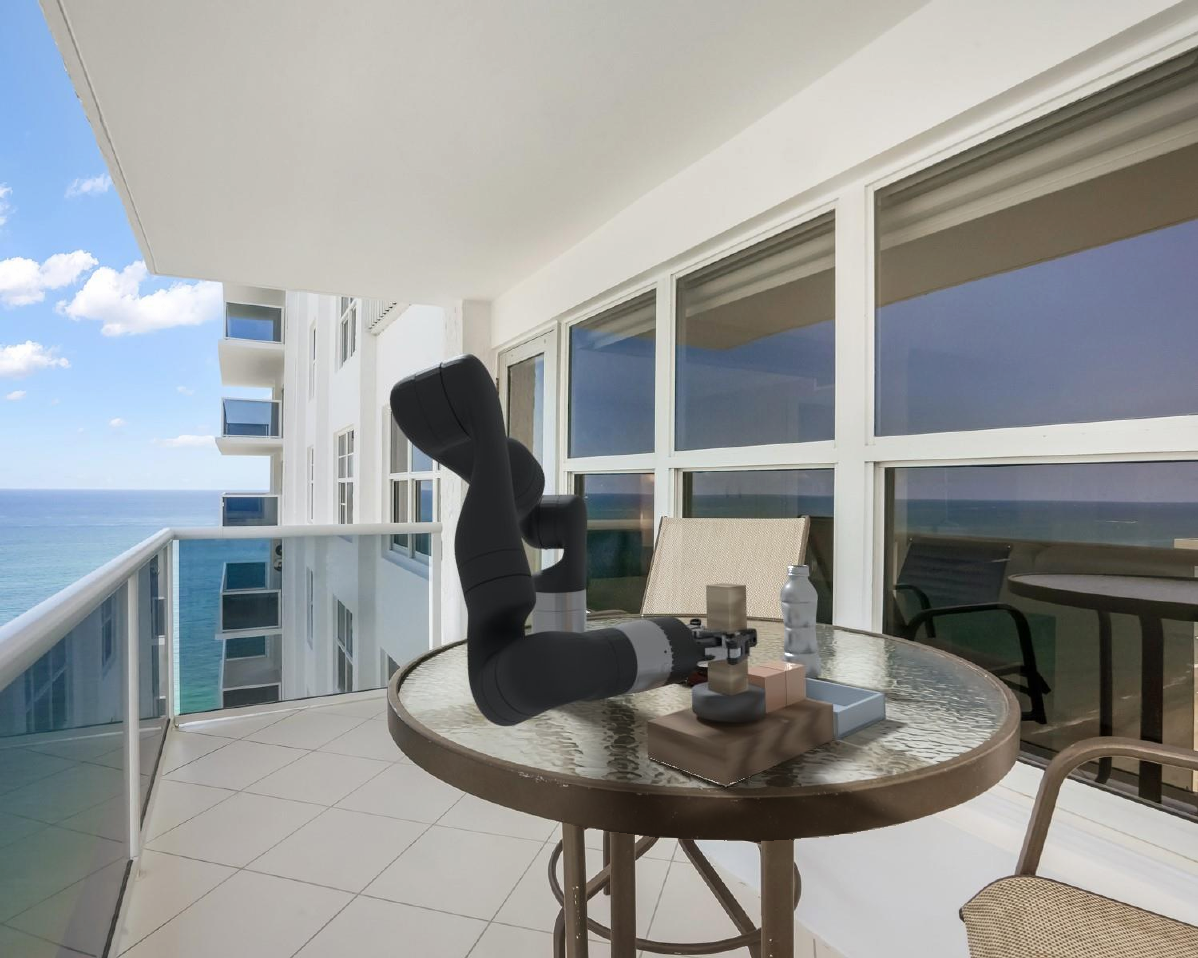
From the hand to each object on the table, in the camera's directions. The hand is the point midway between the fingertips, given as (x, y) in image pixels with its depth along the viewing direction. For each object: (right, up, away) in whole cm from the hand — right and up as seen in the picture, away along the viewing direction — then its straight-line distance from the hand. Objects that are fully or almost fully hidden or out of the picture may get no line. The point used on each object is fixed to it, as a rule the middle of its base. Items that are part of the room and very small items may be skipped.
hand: (740, 634), depth 85 cm
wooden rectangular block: (0, -14, -1) cm, 14 cm away
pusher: (-2, -9, -2) cm, 9 cm away
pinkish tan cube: (+3, -10, +2) cm, 10 cm away
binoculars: (0, -16, +33) cm, 36 cm away
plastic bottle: (+18, -16, +33) cm, 41 cm away
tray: (+14, -15, +11) cm, 23 cm away
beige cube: (+7, -10, +5) cm, 13 cm away
